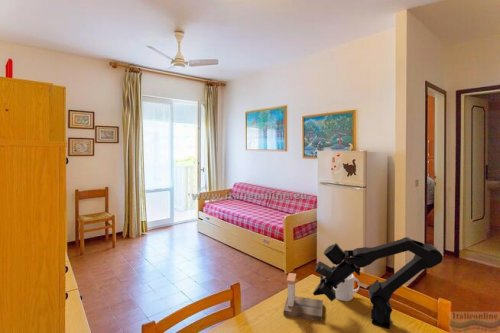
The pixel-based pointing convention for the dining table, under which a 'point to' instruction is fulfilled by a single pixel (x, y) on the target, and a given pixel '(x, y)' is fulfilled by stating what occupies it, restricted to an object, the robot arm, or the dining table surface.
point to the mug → (346, 289)
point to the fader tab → (291, 288)
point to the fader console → (305, 308)
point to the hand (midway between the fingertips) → (313, 294)
